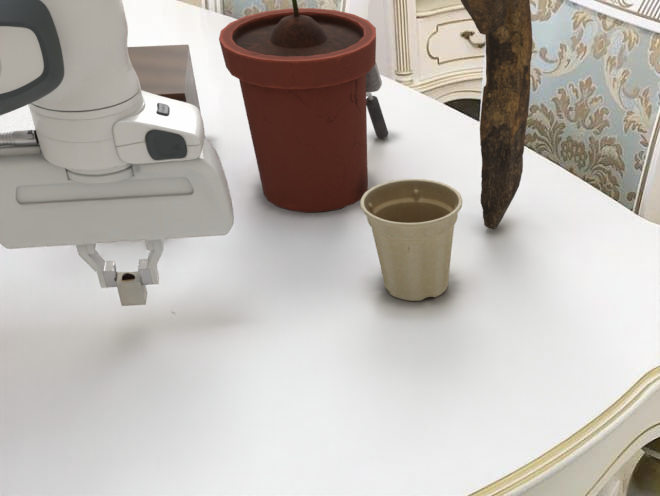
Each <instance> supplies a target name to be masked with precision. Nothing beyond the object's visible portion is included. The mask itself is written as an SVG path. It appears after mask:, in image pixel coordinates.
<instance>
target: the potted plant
mask: <svg viewBox="0 0 660 496" xmlns="http://www.w3.org/2000/svg"><path fill="white" fill-rule="evenodd" d="M291 5H292V8H282V9H274V10H266V11H261V12H258V13H257V12H256V13H253V14H249V15H245V16H242V17H241V18H238V19H235V20H234V21H231V22H229V23H228V24H227V25H225V26H224V28H223V29H221V30H220V32H219V37H218V41H219V45H220V50H221V52H222V53H221V54H222V56H223V60H224V64H225V68H226V69H227V71H228V72H229V73H230V75H231V76H233V77H234V78H236V79H238V81H239V86H240V90H241V95H242V99H243V104H244V109H245V113H246V118H247V122H248V128H249V132H250V135H251V141H252V146H253V151H254V155H255V160H256V164H257V170H258V174H259V179H260V183H261V187H262V192H263V193H262V194H263V196H264V197H265V198H266V200H267V201H268V202H269V203H271V204H272V205H274V206H275V207H277V208H281V209H284V210H289V211H293V212H294V211H295V212H302V213H319V212H320V213H321V212H328V211H335V210H341V209H343V208H346V207H348V206H351V205H354V204H355V203H357V202H360V201H361V198H362V196H363V195H364V193H365V192H366V191H368V190H369V180H368V179H369V176H368V133H367V132H368V124H367V123H368V121H367V118H368V117H367V112H368V115H369V118H370V121H371V123H372V127H373V130H374V133H375V136H376V138H377V139H380V140H383V139H385V138H387V137H388V136H389V130H388V128H387V124H386V120H385V117H384V115H383V111H382V107H381V105H380V101H379V99H378V97H377V96H376V95H373V94H372V93H375V92H378V91H380V89H381V88H382V85H383V81H382V78H381V74H380V70H379V68H378V63H377V60H376V59H377V58H376V56H377V55H376V54H377V28H376V27H375V25H374V24H373V23H371V22H370V20H368V19H366V18H363V17H361V16H359V15H357V14H354V13H350V12H345V11H340V10H336V9H327V8H315V7H306V8H304V7H303V8H302V7H301V8H300V7H299V6H298V5H299V4H298V0H291Z"/></svg>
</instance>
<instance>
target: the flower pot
mask: <svg viewBox="0 0 660 496" xmlns="http://www.w3.org/2000/svg"><path fill="white" fill-rule="evenodd" d="M359 205H360V209H361V211H362V213H363V214H364V215H365V216H366V220H367V223H368V225H369V226H370V228H371V231H372V236H373V239H374V244H375V248H376V253H377V257H378V262H379V266H380V271H381V275H382V280H383V286H384V288H385V289H386V290H387V291H388V293H389V294H390V295H391V296H392V297H394V298H397V299H400V300H403V301H410V302H421V301H423V300H424V299H427V298H438V297H440V296H441V295H442V294H444V292H446V290H447V289H448V287H449V280H450V279H449V278H450V267H451V260H452V259H451V258H452V247H453V240H454V239H453V238H454V231H455V230H454V229H455V225H456V223H457V221H458V217H459V214H458V213H460V211H461V209H462V207H463V197H462V194H461V193H460V192H459V191H458V190H457V189H456V188H454V187H452V185H449V184H447V183H444V182H443V181H442V182H441V181H436V180H431V179H425V178H402V179H396V180H389V181H386V182H382V183H379V184H377V185H375V186H372V187H371V188H368V191H366V192H365V193H364V195H363V196H362V198H361V199H360V200H359Z"/></svg>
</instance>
